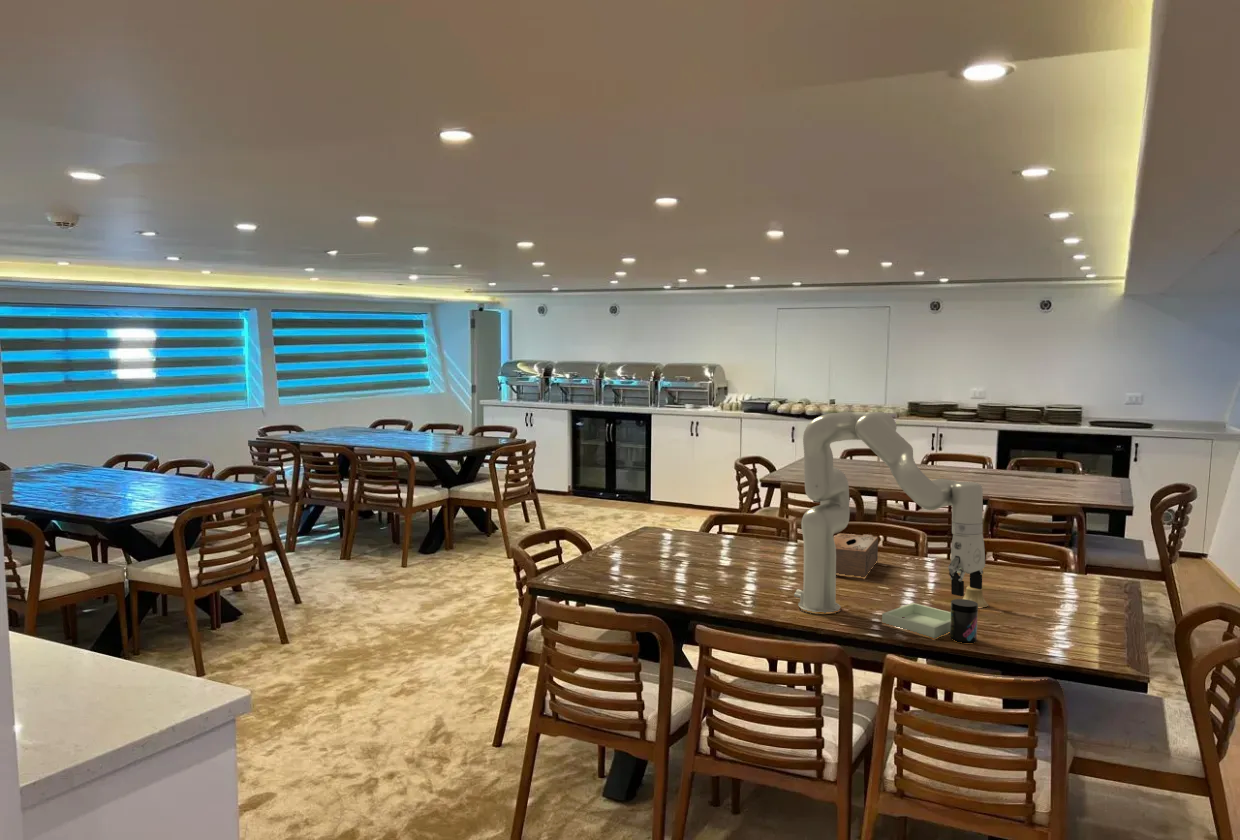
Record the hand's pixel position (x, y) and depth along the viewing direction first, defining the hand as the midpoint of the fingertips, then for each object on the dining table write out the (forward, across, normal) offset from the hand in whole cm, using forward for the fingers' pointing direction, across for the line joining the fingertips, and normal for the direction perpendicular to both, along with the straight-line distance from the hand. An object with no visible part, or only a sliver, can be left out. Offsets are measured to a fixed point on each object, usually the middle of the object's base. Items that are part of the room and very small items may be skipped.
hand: (966, 591), depth 218 cm
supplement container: (+14, 0, +1) cm, 14 cm away
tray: (+13, +2, +14) cm, 19 cm away
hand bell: (+14, +33, +15) cm, 39 cm away
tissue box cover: (+13, +41, +65) cm, 78 cm away
